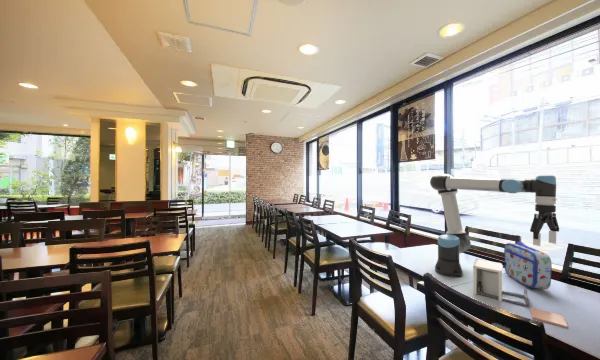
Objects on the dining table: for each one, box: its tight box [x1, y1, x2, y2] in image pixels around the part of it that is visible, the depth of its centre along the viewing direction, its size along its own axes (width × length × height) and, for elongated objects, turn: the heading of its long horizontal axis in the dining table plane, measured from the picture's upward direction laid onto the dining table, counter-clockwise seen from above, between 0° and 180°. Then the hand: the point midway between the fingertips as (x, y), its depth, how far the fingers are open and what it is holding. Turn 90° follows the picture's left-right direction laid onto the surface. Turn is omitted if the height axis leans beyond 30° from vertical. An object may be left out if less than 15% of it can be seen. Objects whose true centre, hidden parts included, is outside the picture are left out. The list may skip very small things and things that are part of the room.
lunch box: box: [502, 241, 552, 290], centre depth 137 cm, size 28×10×22 cm, turn 168°
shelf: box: [472, 258, 503, 302], centre depth 123 cm, size 11×14×15 cm
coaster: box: [529, 306, 569, 329], centre depth 101 cm, size 10×10×1 cm
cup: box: [480, 269, 499, 296], centre depth 122 cm, size 8×8×12 cm
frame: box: [477, 281, 530, 307], centre depth 120 cm, size 19×11×4 cm, turn 49°
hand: (544, 244), depth 124 cm, fingers open, 13 cm apart
